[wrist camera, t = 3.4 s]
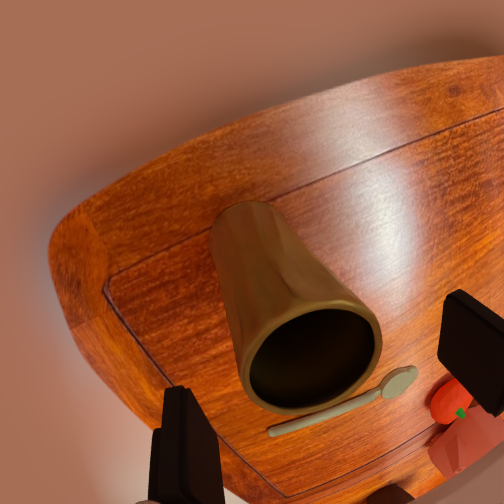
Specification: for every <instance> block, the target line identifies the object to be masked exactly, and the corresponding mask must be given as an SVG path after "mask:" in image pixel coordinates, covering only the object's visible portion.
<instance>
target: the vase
mask: <svg viewBox="0 0 504 504" xmlns="http://www.w3.org/2000/svg"><path fill="white" fill-rule="evenodd" d="M209 248H210V253H211V257H212V259H213V261H214V263H215V267H216V271H217V275H218V279H219V284H220V288H221V293H222V298H223V302H224V306H225V311H226V315H227V320H228V324H229V328H230V332H231V337H232V341H233V347H234V352H235V357H236V362H237V368H238V374H239V378H240V380H241V383H242V386H243V388H244V390H245V392H246V394H247V395H248V397H249V398H250V399H251V400H252V401H253V402H254V403H255V404H256V405H258V406H260V407H261V408H263V409H265V410H268V411H270V412H272V413H276V414H280V415H302V414H308V413H312V412H317V411H321V410H323V409H326V408H329V407H331V406H333V405H336V404H338V403H340V402H341V401H343V400H345V399H346V398H347V397H349V396H350V395H351V394H353V393H354V392H355V391H356V390H357V389H358V388H359V387H360V386H361V385H362V384H363V383H364V382H365V381H366V380H367V379H368V378H369V377H370V375H371V374H372V372H373V371H374V369H375V367H376V365H377V363H378V361H379V358H380V355H381V351H382V343H383V342H382V334H381V329H380V325H379V322H378V320H377V318H376V316H375V314H374V313H373V312H372V311H371V310H370V309H369V308H368V307H367V306H366V305H365V304H364V303H363V302H362V301H361V300H360V299H359V298H358V297H357V296H356V295H355V294H354V293H353V292H352V291H351V290H350V289H349V288H348V287H347V286H346V285H345V284H344V283H343V282H342V281H341V280H340V279H339V278H338V277H337V276H336V275H335V273H334V272H333V271H332V270H331V269H330V268H328V267H327V266H326V265H325V264H324V263H323V262H322V261H321V260H320V259H319V258H318V257H317V256H316V255H315V254H314V253H313V252H312V251H311V250H310V249H309V248H308V247H307V246H306V245H305V243H304V242H303V241H302V240H301V238H300V237H299V236H298V235H297V233H296V232H295V231H294V229H293V228H292V227H291V225H290V224H289V223H288V222H287V220H286V219H285V217H284V216H283V215H282V214H281V213H280V212H279V211H278V210H277V209H276V208H274V207H273V206H271V205H269V204H267V203H263V202H258V201H245V202H241V203H238V204H235V205H233V206H231V207H229V208H228V209H226V210H225V211H223V212H222V213H221V214H220V216H219V217H218V218H217V220H216V221H215V223H214V224H213V226H212V229H211V232H210V237H209Z"/></svg>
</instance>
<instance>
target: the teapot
mask: <svg viewBox="0 0 504 504" xmlns="http://www.w3.org/2000/svg"><path fill="white" fill-rule="evenodd" d="M464 413H465V415H466V416H465V417H464V418H463V419H461V418H460V417H458V418H456V420H455V421H454V423H453V424H452V425H451V426H450V427H449V428H448V429H447V430H446V431H445V432H444V433H443V432H440V433H438V434H437V435H436V436H434V437H433V438H432V440H431V442H432V443H434V444H433V445H432V446H431V447H430V448H429V450H428V454H429V456H430V459H431V461H432V462H433V463H434V465H435V466H436V467H437V469H438V470H439V471H440V472H441V473H442V474H443V475H444V476H445V478H446V479H447V480H449V479H451V478H452V477H454V476H456V475H457V474H459V473H460V472H462V471H463V470H465V469H466V468H467V467H469V466H470V465H472V464H473V463H475V462H476V461H477V460H479V459H480V458H482V457H483V456H484V455H486V454H487V453H488V452H489V451H491V450H492V449H493V448H495V447H496V446H497V445H498V444H500V443H501V442H502V441H503V440H504V420H503V419H502V418H501V416H500V415H498V416H497V417H496V418H495V417H494V416H493V415H492V414H489V413H487V412H486V411H485V410H484V409H483V408H482V407H481V406H480V405H477V406H476V407H472V408H468V409H466V410H465V411H464Z"/></svg>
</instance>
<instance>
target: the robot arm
mask: <svg viewBox="0 0 504 504" xmlns="http://www.w3.org/2000/svg"><path fill="white" fill-rule="evenodd" d="M437 356H438V359H439V361H440V362H441V363H442V364H443V365H444V366H445V367H446V368H447V370H448V371H449V372H450V373H451V374H452V375H453V376H454V377H455V378H456V379H457V380H458V381H459V382H460V383H461V385H462V386H463V387H464V388H465V389H466V390H467V391H468V392H469V393H470V394H471V396H472V397H473V398H474V399H475V400H476V401H477V402H478V403H479V404H480V406H481V407H482V408H483V409H484V410H485V411H486V412H487V413H489V414H492V415H493V416H494V417H495V418H496V417H497V416H498V415H500V414H501V413H502V412H503V411H504V319H503V318H501V317H500V316H499V315H497V314H496V313H494V312H493V311H492V310H490V309H489V308H488V307H486V306H485V305H483V304H482V303H481V302H479V301H478V300H476V299H475V298H473V297H472V296H471V295H469V294H468V293H466V292H465V291H463V290H461V289H458V290H456V291H454V292H452V293H450V294H448V295H447V296H446V299H445V301H444V304H443V314H442V323H441V331H440V338H439V345H438V352H437ZM136 504H225V496H224V488H223V480H222V471H221V462H220V453H219V443H218V438H217V435H216V433H215V431H214V430H213V428H212V426H211V425H210V423H209V421H208V419H207V418H206V416H205V414H204V413H203V411H202V409H201V407H200V406H199V404H198V402H197V400H196V398H195V397H194V395H193V393H192V391H191V389H190V388H187V389H185V388H184V386H182V385H180V386H175V387H171V388H166V389H165V392H164V402H163V413H162V425H161V428H156V429H155V430H154V431H153V435H152V445H151V457H150V470H149V485H148V500H145V501H140V502H138V503H136ZM407 504H504V440H503V441H502V442H501V443H500V444H498V445H497V446H496V447H495V448H493V449H492V450H491V451H489V452H488V453H487V454H486V455H484V456H483V457H482V458H480V459H479V460H477V461H476V462H475V463H473V464H472V465H470V466H469V467H467V468H466V469H465V470H463V471H462V472H460V473H459V474H457V475H456V476H454V477H452V478H451V479H449V480H448V481H446V482H444V483H443V484H441V485H440V486H438V487H436V488H434V489H433V490H431V491H429V492H427V493H426V494H424V495H422V496H420V497H418V498H417V499H415V500H413V501H411V502H409V503H407Z"/></svg>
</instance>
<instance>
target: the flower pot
mask: <svg viewBox="0 0 504 504" xmlns="http://www.w3.org/2000/svg"><path fill="white" fill-rule="evenodd" d="M413 500H415V498H413V497H412V496H411V495H410V494H409V493H407V492H406V491H405V490H403V489H402V488H401V487H399V486H398V485H396V484H394V485H390V486H387V487H384V488H382V489H380V490H378V491H377V492H375V493H374V494H372V495H371V496H370V497H369V498H368V499H367V504H407V503H409V502H411V501H413Z"/></svg>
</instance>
